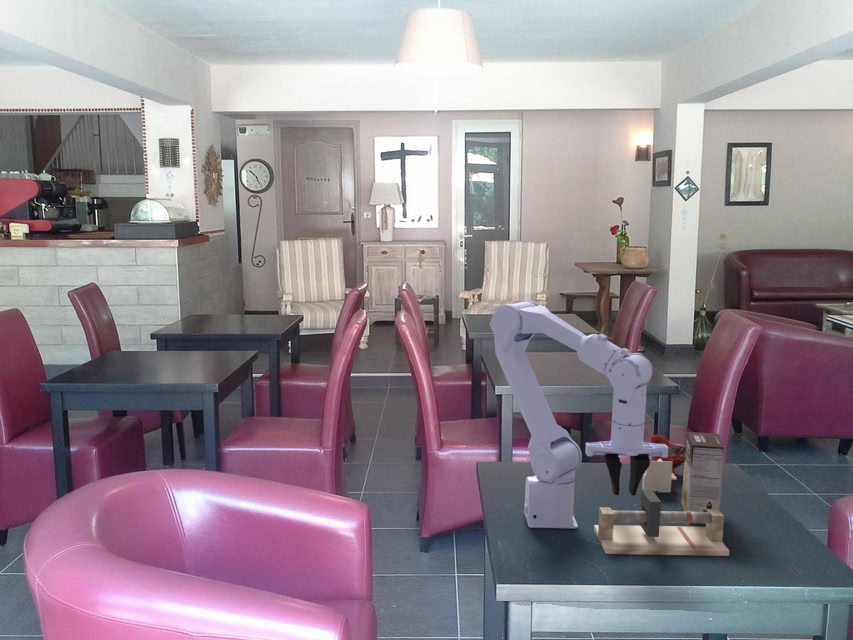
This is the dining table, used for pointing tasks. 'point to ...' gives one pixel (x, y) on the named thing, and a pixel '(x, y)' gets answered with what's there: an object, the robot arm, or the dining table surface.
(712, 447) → the coffee box
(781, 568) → the dining table surface
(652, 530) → the upright gray tile
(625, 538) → the pipe board
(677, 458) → the decorative bird figurine
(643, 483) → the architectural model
